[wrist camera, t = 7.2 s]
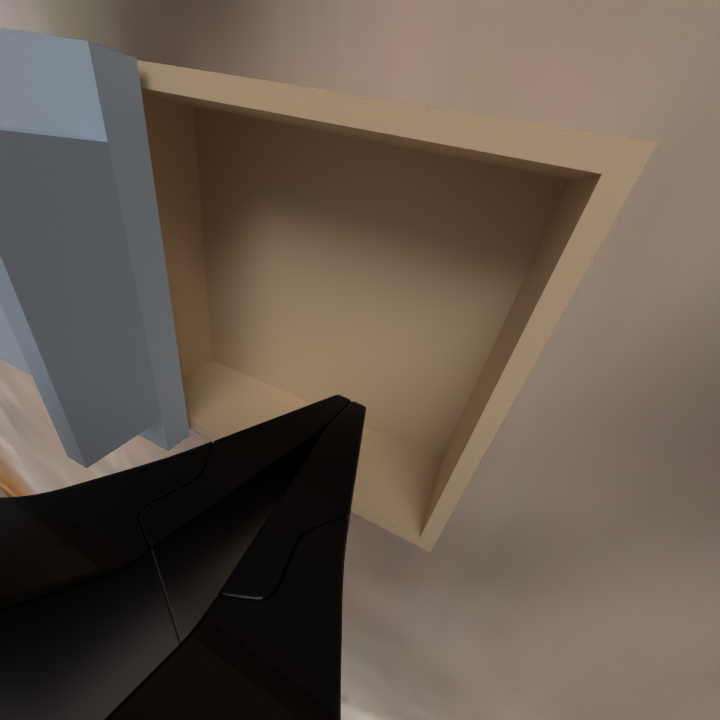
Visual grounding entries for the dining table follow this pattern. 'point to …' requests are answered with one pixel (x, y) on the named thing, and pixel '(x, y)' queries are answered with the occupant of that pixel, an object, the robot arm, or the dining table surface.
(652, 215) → the dining table surface
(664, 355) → the dining table surface
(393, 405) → the tan shallow open box
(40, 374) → the lid
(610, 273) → the dining table surface
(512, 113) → the dining table surface
